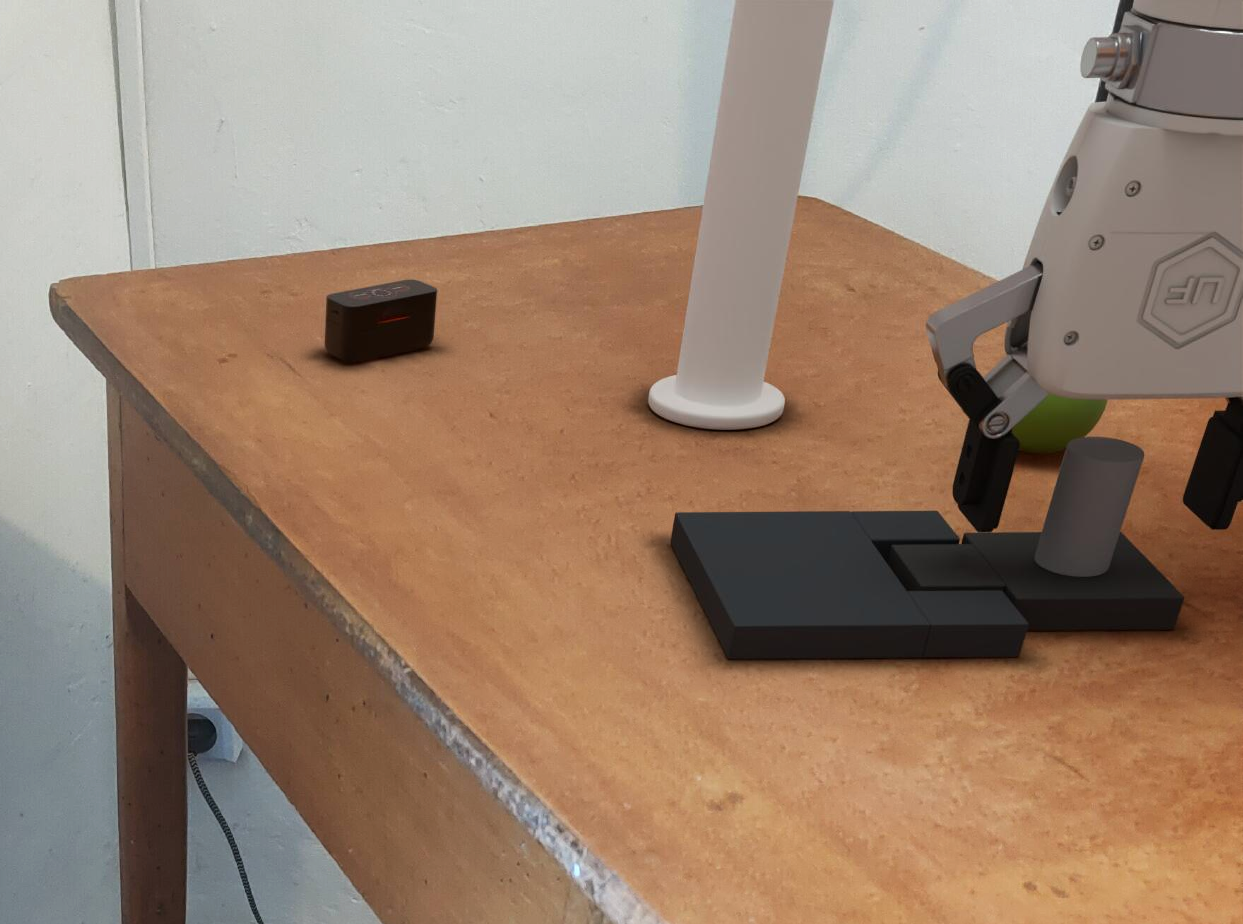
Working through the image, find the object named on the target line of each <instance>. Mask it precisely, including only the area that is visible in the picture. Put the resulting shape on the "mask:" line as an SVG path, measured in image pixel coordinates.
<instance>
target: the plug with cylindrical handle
mask: <svg viewBox="0 0 1243 924" xmlns="http://www.w3.org/2000/svg"><path fill="white" fill-rule="evenodd" d="M1144 459H1145V451H1144V450H1143V449H1142V448H1141V447H1139V446H1138V445H1136V444H1134V443H1133V442H1130V441H1126V440H1123V439H1118V438H1114V437H1107V436H1085V437H1082V438H1077V439H1074V440H1072V441H1070V442H1069V443H1068V444H1067V447H1066V448H1065V450H1064V455H1063V457H1062V461H1061V464H1060V468H1059V471H1058V475H1057V479H1056V482H1055V485H1054V489H1053V492H1052V496H1051V499H1050V503H1049V506H1048V509H1047V513H1046V517H1045V520H1044V523H1043V526H1042V530H1041V531H1019V532H1018V531H1013V532H1012V531H1007V532H1006V531H1005V532H1004V531H1003V532H1002V531H1001V532H1000V531H999V532H998V531H997V532H996V531H994V532H993V531H992V532H964V533H963V536H962V538H961V543H959V544H940V545H892V546H891V549H890V553H889V558H888V562H887V564H888V566H889V567H890V568H891V570H892V571H893V573H894V574H895V575H896V577H897V578H898V580H899V581H900V582H901V584H902V585H903V587H904V588H905V590H906V591H985V590H1001V591H1003V592H1004V594H1005V595H1006V596H1007V597H1008V599H1009V600H1010V601H1011V602H1012V604H1013V605H1014V606H1015V607H1016V609H1017V610H1018V611H1019V612H1020V614H1021V615H1022V616H1023V617H1024V619H1025V620H1026V621H1027V622H1028V624H1029V625H1028V629H1027V632H1028V631H1029V632H1032V631H1036V632H1039V631H1041V632H1043V631H1045V632H1046V631H1047V632H1048V631H1051V632H1053V631H1173V630H1175V627H1176V625H1177V622H1178V619H1179V616H1180V613H1181V610H1182V607H1183V605H1184V602H1185V596H1184V595H1183V594H1182V593H1181V591H1180V590H1179V589H1177V587H1176V586H1175V585H1174V584H1173V583H1172V582H1171V581H1170V580H1169V579H1168V578H1167V577H1166V576H1165V575H1164V574H1163V573H1162V572H1161V571H1160V570H1159V569H1158V568H1157V566H1155V565H1154V564H1153V563H1152V562H1151V561H1150V560H1149V559H1148V558H1147V557H1146V555H1145V554H1144V553H1142V551H1140V549H1139V548H1138V547H1136V545H1135V544H1134V543H1133V542H1132V541H1131V540H1130V539H1129V538H1128V537H1127V536H1126V535H1125V534H1124V533H1123V531H1122V527H1123V524H1124V521H1125V518H1126V515H1127V512H1128V509H1129V506H1130V502H1131V500H1132V497H1133V493H1134V491H1135V486H1136V483H1137V481H1138V477H1139V474H1140V471H1141V468H1142V465H1143V461H1144Z"/></svg>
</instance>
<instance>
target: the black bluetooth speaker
mask: <svg viewBox="0 0 1243 924" xmlns="http://www.w3.org/2000/svg"><path fill="white" fill-rule="evenodd" d="M437 298H438V288H437V287H435V286H432V285H430V284H428V283H426V282H423V281H421V280H417V279H403V280H396V281H391V282H386V283H382V284H376V285H371V286H367V287H360V288H354V289H350V290H345V291H339V292H334V293H330V294H327V295H326V297H325V299H326V300H325V322H324V323H325V324H324V349H325V351H326V352H327V353H328V354H329V355H331V356H333V357H335V358H337V359H339V360H340V361H343V362H344V363H347V364H348V363H349V364H350V363H358V362H363V361H366V360H373V359H377V358H382V357H386V356H390V355H396V354H400V353H405V352H411V351H414V350H420V349H424V348H427V347H429V346H431V344H432V343H433V341H434V338H435V337H434V336H435V327H436V326H435V323H436V313H437V300H438V299H437Z"/></svg>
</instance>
